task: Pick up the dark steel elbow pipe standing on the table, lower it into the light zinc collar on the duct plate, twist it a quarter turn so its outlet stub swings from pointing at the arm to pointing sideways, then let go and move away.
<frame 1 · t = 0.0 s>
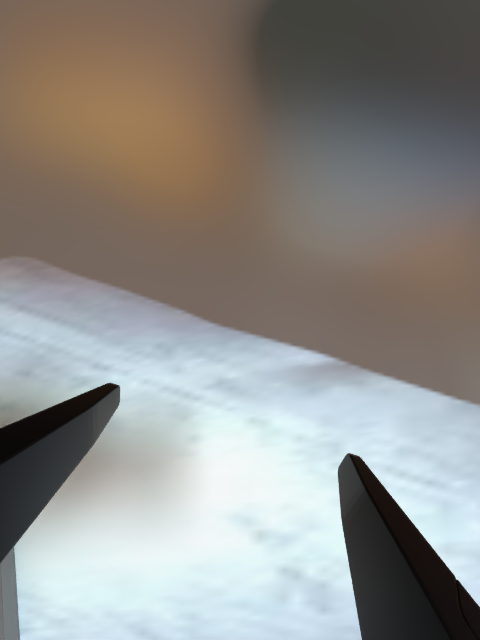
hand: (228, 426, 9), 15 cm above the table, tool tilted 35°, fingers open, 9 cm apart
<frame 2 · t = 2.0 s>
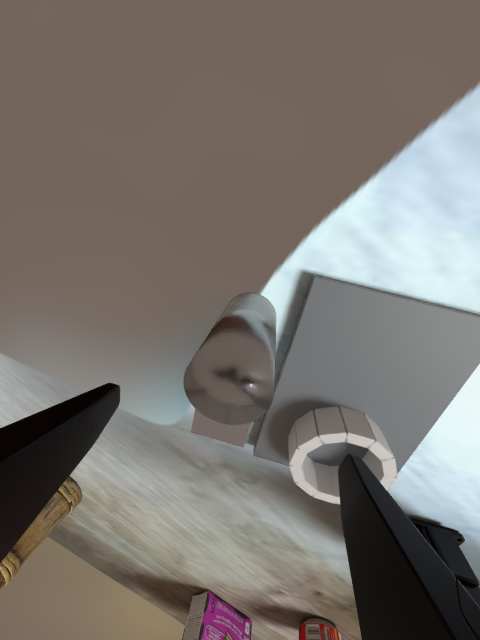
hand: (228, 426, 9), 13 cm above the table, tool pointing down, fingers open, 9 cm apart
duct plate: (350, 394, 22), on the table
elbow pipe: (250, 317, 21), on the table
soda can: (318, 623, 40), on the table
wooden mug: (59, 476, 35), on the table
candy bar box: (222, 605, 43), on the table
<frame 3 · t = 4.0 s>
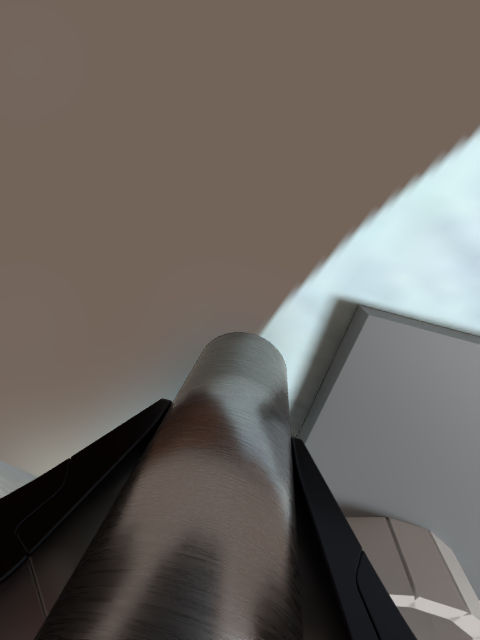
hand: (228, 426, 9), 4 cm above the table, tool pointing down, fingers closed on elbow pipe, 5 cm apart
duct plate: (403, 492, 14), on the table
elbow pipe: (241, 372, 12), on the table, touching gripper
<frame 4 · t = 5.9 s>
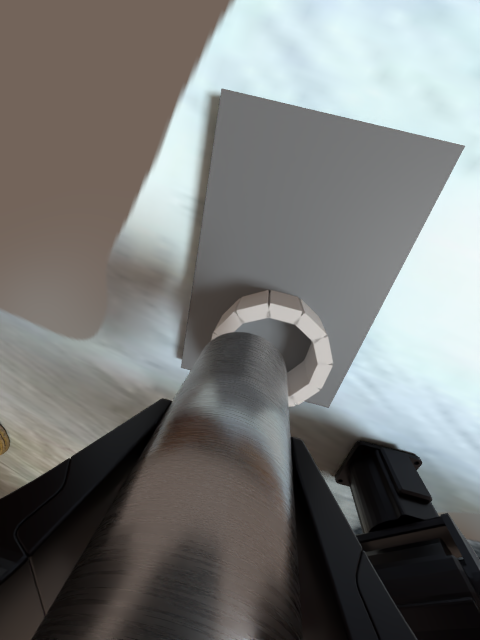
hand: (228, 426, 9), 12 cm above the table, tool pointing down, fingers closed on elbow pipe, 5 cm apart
duct plate: (286, 280, 18), on the table
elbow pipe: (241, 372, 12), point 8 cm above the table, touching gripper
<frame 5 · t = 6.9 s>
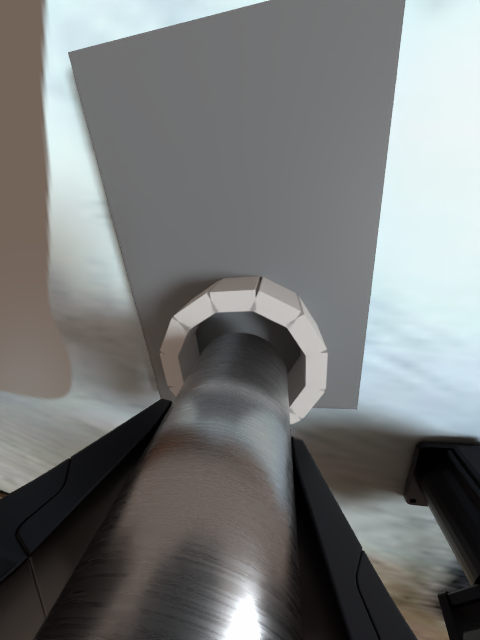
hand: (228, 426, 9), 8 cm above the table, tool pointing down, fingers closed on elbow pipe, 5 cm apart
duct plate: (242, 261, 14), on the table
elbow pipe: (241, 372, 12), point 4 cm above the table, touching gripper
when the fingers open (5 cm above the table, at t = 7.9 s): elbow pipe stays where it is, resting on duct plate.
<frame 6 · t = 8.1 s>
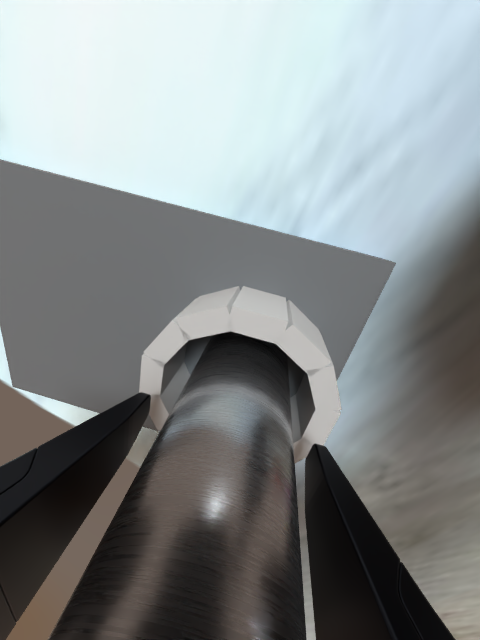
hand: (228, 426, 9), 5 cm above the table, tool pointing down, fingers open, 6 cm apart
duct plate: (166, 331, 14), on the table
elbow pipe: (244, 363, 13), point 1 cm above the table, touching duct plate
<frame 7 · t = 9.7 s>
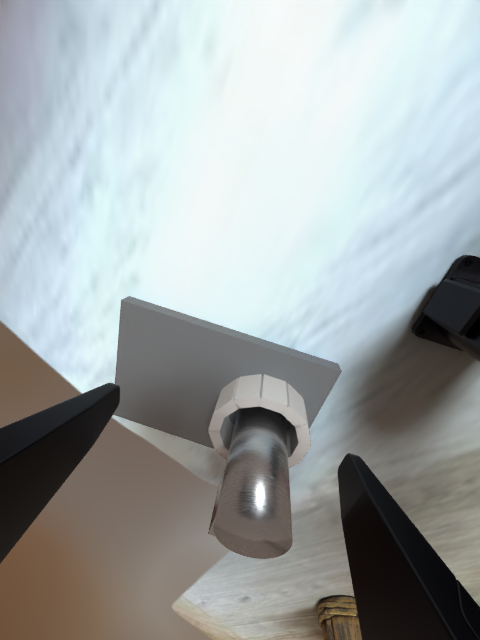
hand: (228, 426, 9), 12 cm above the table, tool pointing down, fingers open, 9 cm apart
duct plate: (214, 387, 24), on the table
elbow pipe: (261, 410, 23), point 1 cm above the table, touching duct plate
wooden mug: (335, 601, 37), on the table
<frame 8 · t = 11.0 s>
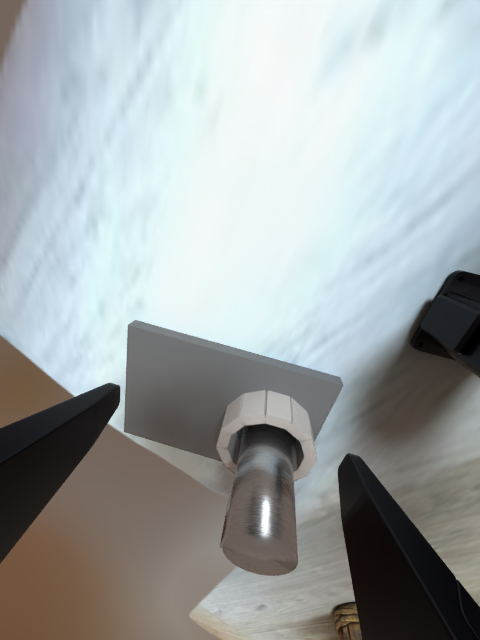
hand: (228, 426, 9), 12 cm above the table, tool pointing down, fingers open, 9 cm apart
duct plate: (221, 403, 25), on the table
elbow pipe: (267, 425, 23), point 1 cm above the table, touching duct plate
wooden mug: (351, 607, 37), on the table
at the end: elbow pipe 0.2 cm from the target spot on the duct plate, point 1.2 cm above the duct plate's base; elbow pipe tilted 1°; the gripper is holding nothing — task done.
